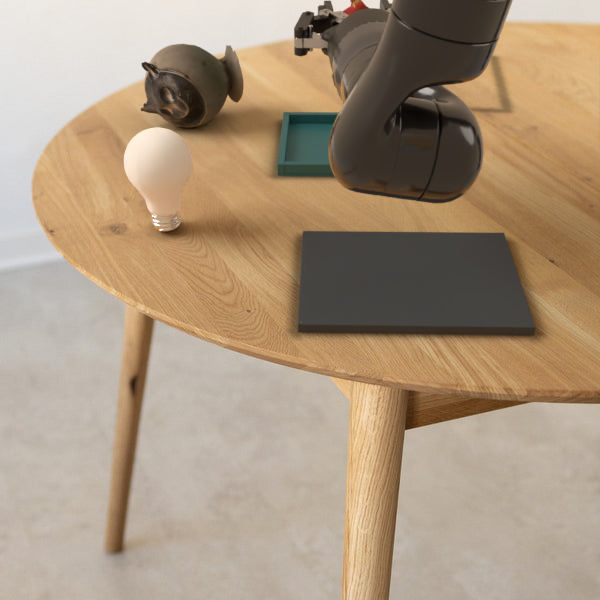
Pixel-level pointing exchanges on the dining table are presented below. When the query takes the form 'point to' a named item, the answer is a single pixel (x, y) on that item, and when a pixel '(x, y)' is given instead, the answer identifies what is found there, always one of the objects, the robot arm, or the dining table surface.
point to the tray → (305, 144)
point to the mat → (410, 284)
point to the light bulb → (159, 173)
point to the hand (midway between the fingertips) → (354, 9)
